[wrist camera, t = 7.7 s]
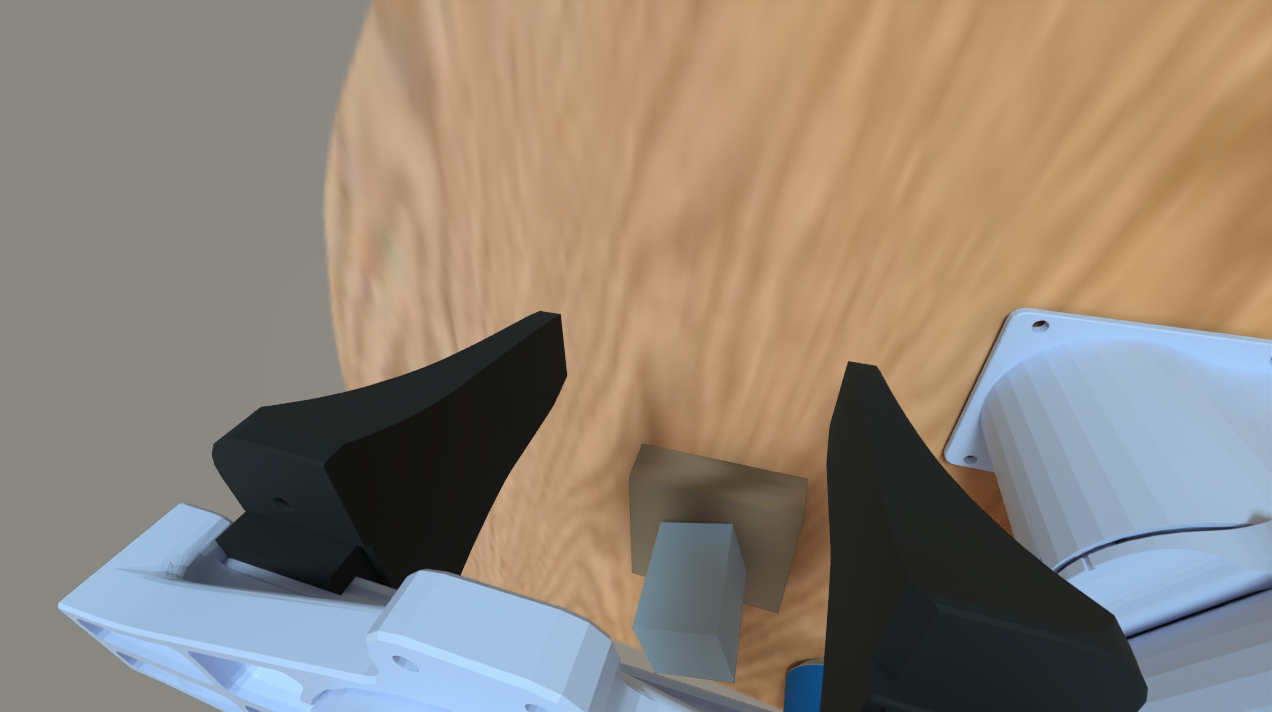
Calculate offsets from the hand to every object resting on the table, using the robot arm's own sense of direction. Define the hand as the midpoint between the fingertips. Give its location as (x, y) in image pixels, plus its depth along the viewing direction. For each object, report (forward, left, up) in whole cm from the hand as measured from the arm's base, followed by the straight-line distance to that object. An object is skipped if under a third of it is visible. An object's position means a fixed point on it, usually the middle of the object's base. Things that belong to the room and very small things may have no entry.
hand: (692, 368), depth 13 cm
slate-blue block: (0, +18, -7) cm, 19 cm away
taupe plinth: (0, +18, -10) cm, 21 cm away
